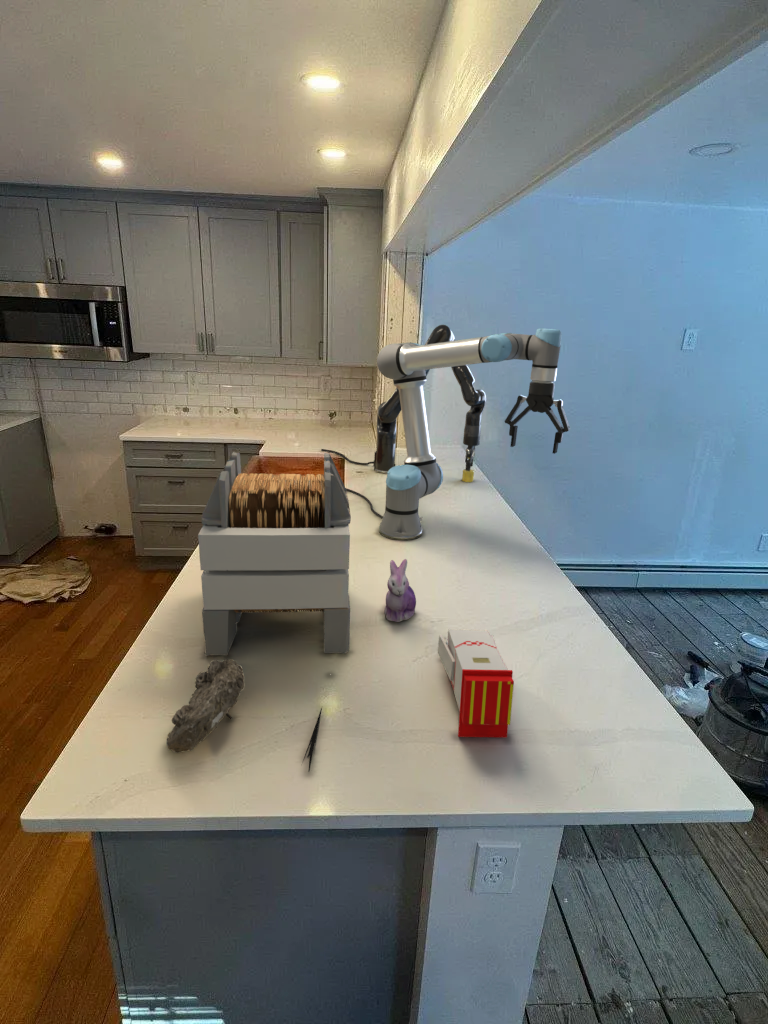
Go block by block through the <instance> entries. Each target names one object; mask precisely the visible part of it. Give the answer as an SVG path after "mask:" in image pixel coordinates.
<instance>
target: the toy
mask: <svg viewBox="0 0 768 1024" xmlns="http://www.w3.org/2000/svg"><path fill="white" fill-rule="evenodd" d="M446 640H447V643H446V641H445V639H444V636H443V635H442V634H439V637H438V646H437V656H438V657H439V659H440V661H441V663H442V666H443V668H444V670H445V672H446V674H447V677H448V679H449V681H450V684H451V687H452V690H453V693H454V697H455V701H456V705H457V708H458V711H459V714H458V715H459V716H458V730H457V731H458V732H457V737H458V738H508V731H509V726H510V725H511V717H512V707H513V697H514V696H513V695H514V684H515V680H514V679H513V673H514V671H513V670H512V669H508V667H507V665H506V662H505V661H504V659H503V658H502V655H501V653H500V651H499V649H498V647H497V643H496V639H495V637H494V635H493V634H491V632H490V631H489V629H467V628H466V629H465V628H463V629H461V628H460V629H459V628H448V630H447V639H446Z"/></svg>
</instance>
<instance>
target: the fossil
mask: <svg viewBox="0 0 768 1024" xmlns="http://www.w3.org/2000/svg"><path fill="white" fill-rule="evenodd" d="M243 670H244V669H243V667H242V665H240V664H237V662H236V661H235V660H234V659H232V658H231V659H227V658H226V659H224V660H223V661H222V660H217V659H212V660H211V661H210V663H209V665H208V666H207V671H201V672H199V673H198V674H197V675H196V676H195V680H194V684H195V685H194V687H195V689H194V690H193V693H192V694H191V697H190V698H189V700H188V704H184V705H182V706H181V707H180V709H177V710H176V711H175V713H174V715H173V716H172V718H171V723H172V724H173V727H172V730H171V731H170V732H168V734H167V738H166V741H167V742H166V745H167V749H168V750H169V751H173V752H174V753H176V754H178V753H182V752H188V751H189V752H192V751H193V750H195V748H196V747H197V746H199V744H200V743H201V742H203V741H204V740H205V739H206V738H207V737H208V736H209V735H210V734H211V733H212V732H214V730H215V729H217V727H218V726H219V724H220V722H221V721H222V720H223V719H224V718H225V716H226V717H227V719H229V720H233V717H232V715H230V714H229V710H230V709H231V708H234V706H235V704H236V703H237V702H238V699H239V697H240V695H241V693H242V691H243V690H245V689H244V688H245V675H244V671H243Z"/></svg>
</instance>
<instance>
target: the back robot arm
mask: <svg viewBox="0 0 768 1024" xmlns="http://www.w3.org/2000/svg"><path fill="white" fill-rule="evenodd" d="M449 341H456V338H455V334H454V332H453V330H452V329H451V327H449V326H448V325H446V324H439V325H437V326H436V327H434V328H433V330H432V331H431V333H430V335H429V337H428V338H427V341H426V342H425V344H424V345H428V344H435V343H442V342H449ZM450 368H451V371H452V373H453V375H454V377H455V379H456V381H457V384H458V385H459V387H460V392H461V396H462V398H463V401H464V403H465V404H466V405H467V406H469V407H470V409H469V410H468V411H466V414H465V423H464V429H463V439H462V444H463V445H464V446H467V447H466V448H465V460H464V461H465V470H466V471H470V469H471V467H473V465H474V458H475V455H476V447H477V446H480V445H481V444H480V442H481V433H482V415H483V413H484V409H485V406H486V402H487V395H486V392H485V391H484V390H483V389H479V388H478V389H475V386H474V384H475V382H476V380H475V378H474V376H473V373H472V372H471V370H470V368H469V366H468V365H461V366H453V367H450ZM430 371H431V369H428V370H427V371H426V377H427V376H428V374H429V372H430ZM395 387H396V386H395ZM401 412H402V410H401V403H400V395H399V389H398V388H397V387H396V388H395V390H394V391H393V393H392V395H390V396H389V398H388V399H387V400H386V401H383V402H382V403H380V404H379V405H378V407H377V413H376V414H377V415H376V449H375V450H374V455H373V456H374V458H373V461H368V462H359V461H354V460H351V459H349V458H348V457H346V456H345V454H344V453H342V452H338V451H335V450H331V449H325V448H321V449H320V450H321V452H328V453H333V454H336V455H339V456H341V457H342V458H344V459H345V460H346V461H347V462H349V463H351V464H355V465H359V466H368V465H373V471H375V472H377V473H379V474H387V473H388V471H389V470H390V469H391V468H392V467H394V466H396V448H397V420H398V417H399V415H400V413H401ZM471 470H472V469H471Z"/></svg>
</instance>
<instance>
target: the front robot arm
mask: <svg viewBox="0 0 768 1024" xmlns="http://www.w3.org/2000/svg"><path fill="white" fill-rule="evenodd" d="M562 335H563V334H562V331H561V330H560V329H557V328H556V329H555V328H537V329H536V332H535V334H523V333H512V332H501V333H495V334H491V335H486V336H480V337H479V336H478V337H471V338H465V339H458V340H456V339H455V340H456V341H449V342H442V343H435V344H428V345H425V344H422V345H421V344H419V343H417V342H401V343H389V344H387V345H385V346H383V347H382V348H381V349H380V351H379V352H378V354H377V357H376V366H377V369H378V371H379V372H380V373H381V375H382V376H384V377H385V378H387V379H389V380H392V382H393V386H394V387H397V388H398V389H399V395H400V403H401V418H402V425H403V434H404V441H405V447H406V458H405V459H404V460H403V464H401V465H399V464H396V465H395V466H394V467H392V468H391V469H390V470H389V471H388V473H386V479H385V504H384V505H385V507H384V508H385V509H384V513H383V515H382V514H380V513H378V512H377V511H376V510H375V509H374V507H373V503H372V502H371V501H370V500H369V498H367V497H366V496H365V495H363V494H362V493H360V492H358V491H355V490H353V489H350V488H347V487H345V488H346V490H347V492H350V493H352V494H355V495H357V496H359V497H361V498H362V499H364V500H365V501H366V502H367V503H368V504H369V507H370V510H371V512H372V513H373V514H374V515H376V516H377V517H379V518H381V522H379V526H378V533H379V534H380V535H381V536H382V537H385V538H387V539H389V540H395V541H410V540H415V539H418V538H420V537H421V536H422V535H423V525H422V524H421V522H422V521H423V516H420V515H419V507H420V506H419V505H420V499H423V498H424V497H426V496H428V495H431V494H433V493H435V492H436V491H437V490H438V489H439V488H440V487H441V486H442V483H443V481H444V472H443V468H442V467H441V466H440V465H439V463H438V462H437V457H436V455H434V454H433V453H432V450H431V441H430V434H429V433H430V432H429V426H428V425H429V424H428V417H427V410H426V408H427V407H426V401H425V393H424V385H425V383H426V382H427V376H426V371H427V370H428V369H430V370H434V369H445V368H451V367H453V366H461V365H467V366H468V365H469V366H470V365H478V364H488V363H500V362H504V361H511V360H520V361H532V363H531V370H530V377H529V379H530V380H531V381H530V382H529V385H528V386H529V387H528V388H529V389H528V394H527V396H525V395H523V394H520V395H518V396H517V398H516V402H515V404H514V405H513V407H512V409H511V410H510V412H509V414H507V416H506V418H505V419H504V423H505V424H507V425H508V426H509V431H508V436H510V437H511V439H510V447H511V448H514V447H515V446H516V443H517V435H518V425H517V424H518V423H519V422H520V421H521V420H522V419H523V418H525V416H526V415H527V414H528V413H529V412H531V411H532V412H533V413H540V414H544V413H545V414H546V416H547V417H548V418H549V419H550V421H551V423H552V425H553V426H554V427H555V429H556V432H555V433H554V440H553V446H552V454H553V455H555V454H557V453H558V448H559V444H561V443H562V442H563V439H564V438H563V437H564V433H567V432H569V431H570V430H571V426H570V423H569V420H568V416H567V413H566V411H565V408H564V400H563V399H554V395H555V387H556V384H555V382H556V380H557V373H558V366H559V358H560V353H561V347H562V344H561V343H562ZM525 402H526V403H527V406H526V407H525V408H524V409H523V410H522V411H521V412H520V413H519V414H518V415H517V416H516V417H515V415H516V414H517V412H518V410H519V409H520V407H521V406H522V404H524V403H525ZM553 405H554V406H555V408H557V412H558V416H559V418H560V421H561V422H560V421H559V419H558V417H557V416H556V414H555V413H554V410H553V408H552V406H553ZM514 417H515V418H514ZM513 418H514V419H513Z"/></svg>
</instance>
